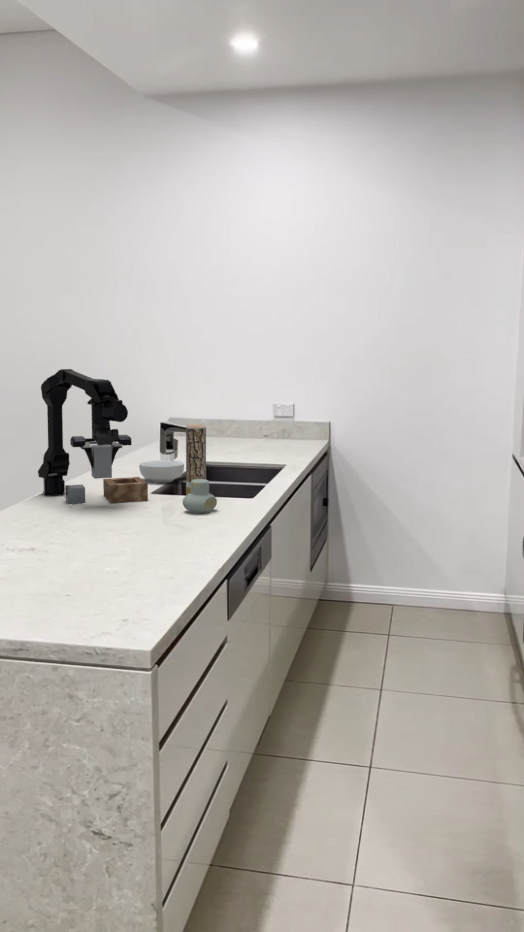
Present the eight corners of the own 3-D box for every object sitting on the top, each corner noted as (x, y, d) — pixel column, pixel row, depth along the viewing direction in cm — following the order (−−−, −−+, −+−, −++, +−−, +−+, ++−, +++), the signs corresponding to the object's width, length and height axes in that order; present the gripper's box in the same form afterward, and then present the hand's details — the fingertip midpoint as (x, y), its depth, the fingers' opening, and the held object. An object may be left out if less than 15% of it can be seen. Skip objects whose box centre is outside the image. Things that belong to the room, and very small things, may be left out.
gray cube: (68, 504, 265) (67, 488, 264) (65, 501, 270) (65, 485, 269) (85, 503, 267) (85, 487, 266) (82, 500, 272) (82, 484, 271)
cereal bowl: (188, 477, 315) (188, 460, 314) (179, 486, 299) (179, 467, 297) (145, 476, 317) (145, 458, 315) (134, 484, 300) (134, 465, 299)
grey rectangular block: (94, 478, 258) (93, 447, 256) (91, 475, 263) (90, 445, 261) (111, 477, 260) (111, 447, 258) (108, 474, 265) (108, 444, 263)
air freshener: (199, 506, 264) (199, 476, 263) (220, 509, 260) (220, 479, 258) (179, 513, 255) (179, 481, 253) (200, 516, 251) (200, 484, 249)
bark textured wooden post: (202, 500, 274) (203, 427, 270) (183, 499, 275) (183, 426, 271) (208, 496, 280) (208, 425, 276) (189, 495, 282) (189, 424, 277)
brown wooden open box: (110, 503, 268) (110, 485, 266) (103, 495, 279) (103, 478, 278) (147, 500, 272) (147, 483, 271) (139, 493, 284) (139, 476, 283)
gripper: (74, 423, 248) (75, 473, 250) (134, 421, 254) (135, 470, 257) (69, 418, 258) (70, 467, 260) (127, 417, 264) (128, 464, 267)
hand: (101, 467), depth 261 cm, fingers closed on grey rectangular block, 6 cm apart
